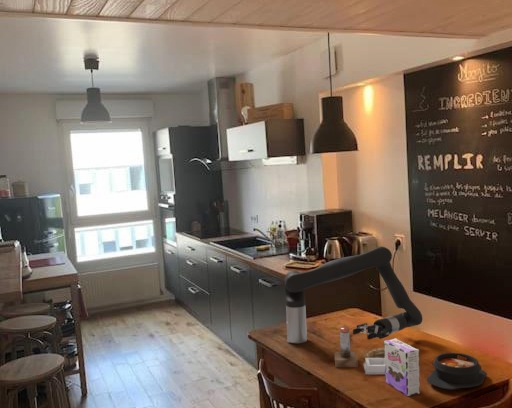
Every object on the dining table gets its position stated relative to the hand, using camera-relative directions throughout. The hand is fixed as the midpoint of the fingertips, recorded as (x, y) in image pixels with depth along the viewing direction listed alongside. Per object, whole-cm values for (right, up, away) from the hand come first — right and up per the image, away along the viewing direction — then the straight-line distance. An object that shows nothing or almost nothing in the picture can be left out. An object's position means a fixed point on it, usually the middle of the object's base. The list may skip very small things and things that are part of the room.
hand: (360, 334), depth 223 cm
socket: (+4, -11, -13) cm, 17 cm away
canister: (-7, -8, -5) cm, 12 cm away
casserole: (+31, -11, -27) cm, 43 cm away
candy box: (+9, -12, -30) cm, 34 cm away
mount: (-7, -11, -4) cm, 14 cm away
